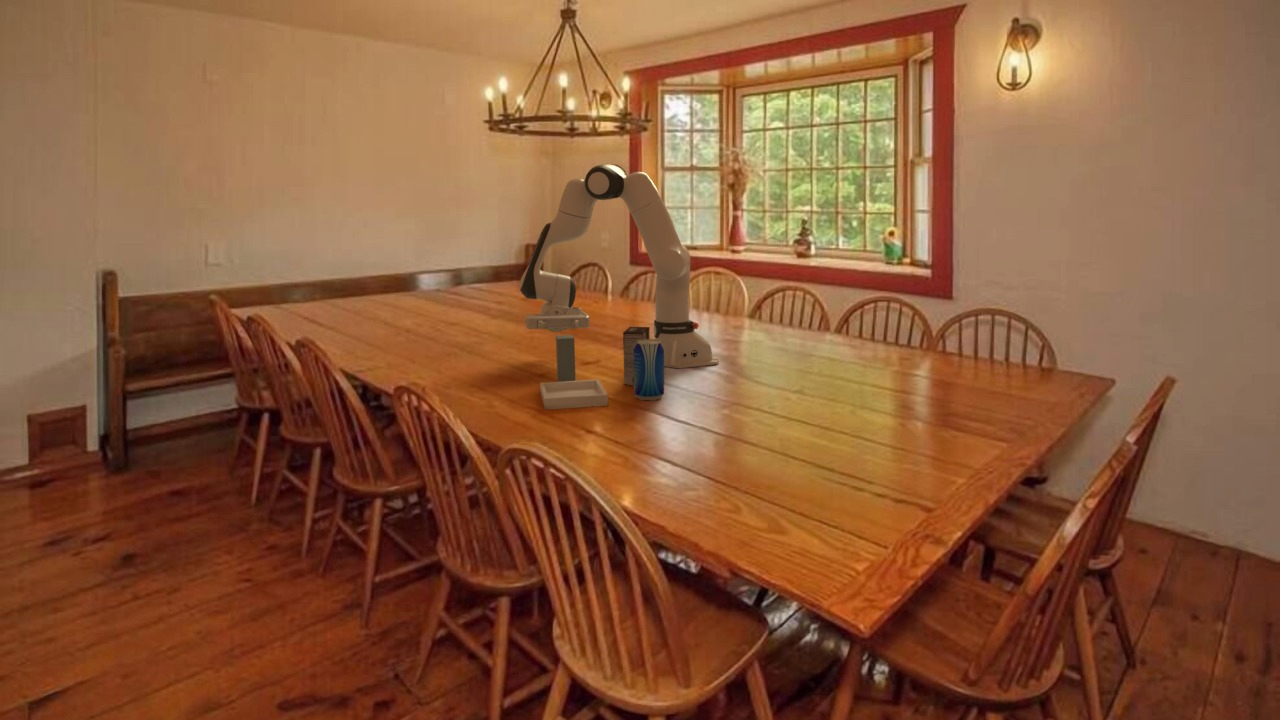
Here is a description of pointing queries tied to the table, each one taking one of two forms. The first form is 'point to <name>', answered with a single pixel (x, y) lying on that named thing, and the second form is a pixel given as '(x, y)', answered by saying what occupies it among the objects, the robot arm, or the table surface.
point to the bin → (573, 394)
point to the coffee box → (632, 350)
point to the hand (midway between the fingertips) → (559, 325)
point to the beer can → (648, 369)
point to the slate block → (565, 358)
